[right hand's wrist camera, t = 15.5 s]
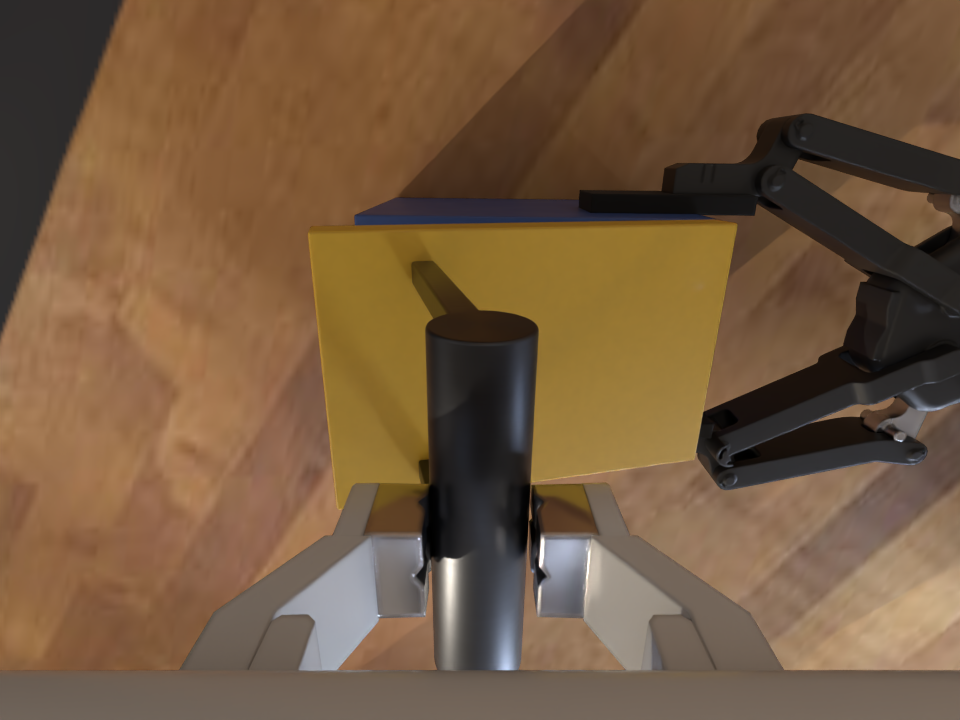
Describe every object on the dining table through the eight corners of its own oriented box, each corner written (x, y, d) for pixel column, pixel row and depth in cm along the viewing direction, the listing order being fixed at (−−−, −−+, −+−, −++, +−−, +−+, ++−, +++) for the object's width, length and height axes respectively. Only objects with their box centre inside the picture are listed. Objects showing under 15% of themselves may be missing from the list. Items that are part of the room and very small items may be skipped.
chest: (402, 360, 31) (370, 440, 22) (394, 197, 28) (353, 214, 19) (623, 363, 31) (679, 444, 22) (642, 200, 28) (718, 218, 19)
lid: (337, 489, 19) (334, 757, 10) (309, 225, 16) (273, 305, 7) (676, 444, 22) (885, 621, 14) (714, 218, 19) (1022, 267, 10)
